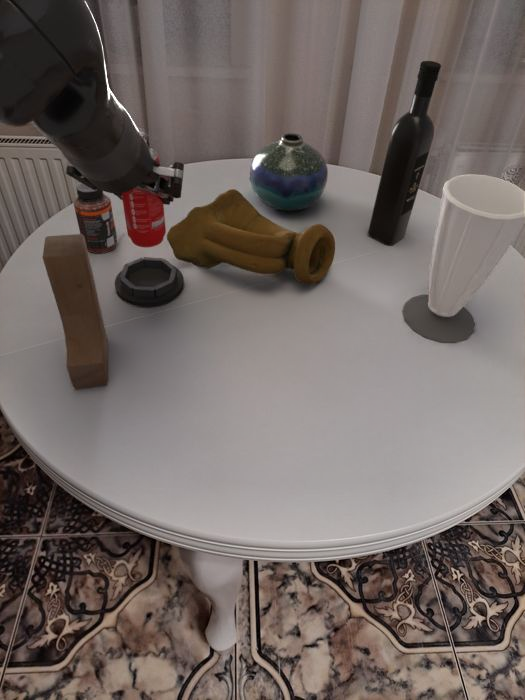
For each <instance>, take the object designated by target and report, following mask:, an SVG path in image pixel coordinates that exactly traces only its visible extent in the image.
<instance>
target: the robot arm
mask: <svg viewBox="0 0 525 700" xmlns="http://www.w3.org/2000/svg"><path fill="white" fill-rule="evenodd" d="M31 123H32V124H33V126H34V127H35V128H36V129H37V130H38V132H39V133H41V135H42V136H44V137H45V138H46V139H47V140H48V141H49V142H50V143H51V144H52V145H53V146H54V147H55V148H56V149H58V150H59V152H60V153H61V154H62V156H63V157H64V158H65V160H66V170H65V174H66V175H67V176H69V177H71V178H73V179H74V180H75V181H77V182H79V183H83V184H84V185H86V186H88V187H89V188H91V189H93V190H99V189H100V190H103V192H104V193H109V194H113V196H116V197H117V198H118V199H119V200H121V201H123V200H122V193H125V192H128V191H130V190H132V189H134V190H140V191H142V192H143V193H145V194H147V195H157V196H158V197H159V199H160V200H161V201H162V202H163V205H168V206H170V204H171V203H173V202H174V201H175V200H174V199H181V197H182V190H183V182H184V169H185V164H184V163H182V162H179V161H176V162H173V165H172V164H171V165H169V167H166V166H161V162H160V163H159V162H158V161H156V160H155V159H153V158H152V157H151V153H150V150H149V145H148V143H147V141H146V139H145V138H144V136H143V135H142V133H141V132H140V130H139V128H138V126H137V125H136V123H135V121H133V118H132V117H131V115H130V114H129V113H128V110H126V108H125V107H124V106H123V105H122V104H121V103H120V102H119V101H118V100H117V98H116V97H115V95H114V93H113V92H112V91H111V89H110V87H109V82H108V77H107V68H106V61H105V53H104V47H103V43H102V38H101V34H100V32H99V28H98V25H97V23H96V21H95V18H94V16H93V13H92V11H91V10H90V8H89V6H88V3H87V2H86V0H0V125H3V126H6V127H12V128H21V127H25V126H26V127H27V126H28V125H29V124H31Z"/></svg>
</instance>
